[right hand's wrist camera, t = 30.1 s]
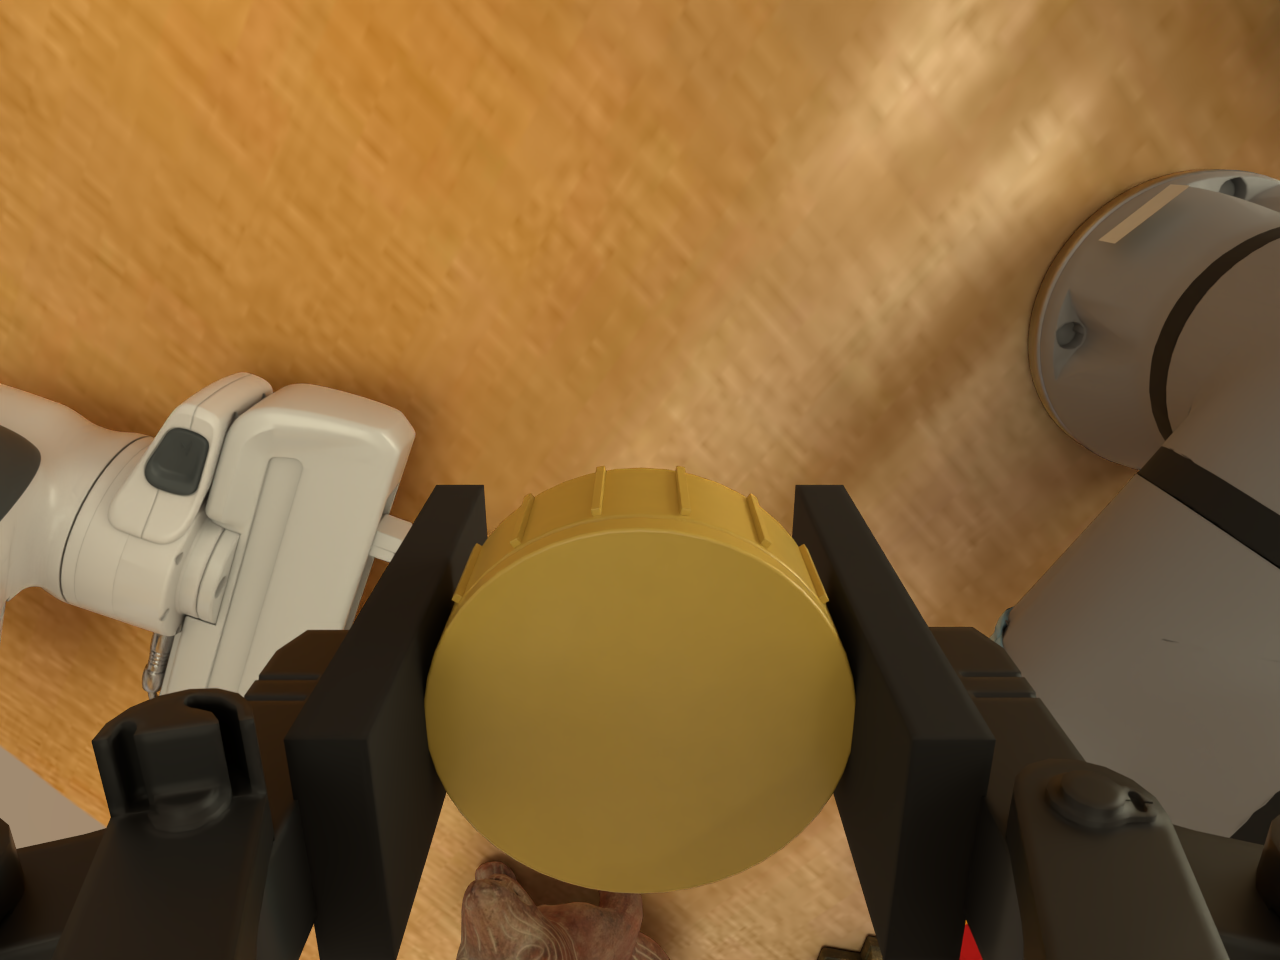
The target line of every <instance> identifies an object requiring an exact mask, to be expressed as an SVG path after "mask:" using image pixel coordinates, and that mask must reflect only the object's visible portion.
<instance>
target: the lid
mask: <svg viewBox="0 0 1280 960" xmlns="http://www.w3.org/2000/svg"><path fill="white" fill-rule="evenodd" d="M452 600H453V601H454V602H455V603H454V606H453V608H452V611H451V613H450V615H449V618H448V620H447V623H446V625H445V628H444V630H443V633H442V635H441V638H440V640H439V643H438V645H437V647H436V650H435V652H434V656H433V659H432V662H431V666H430V669H429V672H428V675H427V682H426V689H425V696H424V708H425V719H426V730H427V739H428V747H429V751H430V754H431V757H432V760H433V763H434V766H435V769H436V772H437V774H438V776H439V778H440V780H441V782H442V784H443V786H444V788H445V790H446V792H447V794H448V795H449V797H450V798H451V800H452V801H453V802H454V804H455V805H456V807H457V808H458V810H459V811H460V813H461V814H462V815H463V816H464V817H465V818H466V819H467V820H468V821H469V823H470V824H471V825H472V826H473V827H474V828H475V829H476V830H477V831H478V832H479V833H480V834H481V835H482V836H484V837H485V838H486V839H487V840H488V841H489V842H491V843H492V844H493V845H494V846H495V847H497V848H498V849H500V850H501V851H503V852H504V853H506V854H507V855H509V856H510V857H512V858H513V859H515V860H516V861H518V862H520V863H522V864H524V865H526V866H527V867H529V868H531V869H533V870H535V871H537V872H539V873H542V874H544V875H547V876H550V877H552V878H555V879H557V880H560V881H563V882H566V883H570V884H574V885H578V886H581V887H585V888H589V889H596V890H602V891H609V892H618V893H636V894H643V893H663V892H671V891H678V890H685V889H691V888H695V887H699V886H703V885H707V884H710V883H714V882H717V881H720V880H723V879H725V878H728V877H731V876H733V875H736V874H739V873H741V872H743V871H745V870H747V869H749V868H751V867H753V866H755V865H757V864H759V863H761V862H763V861H764V860H766V859H767V858H769V857H770V856H772V855H773V854H775V853H776V852H778V851H779V850H781V849H782V848H784V847H785V846H786V845H787V844H788V843H790V842H791V841H792V840H793V839H794V838H795V837H797V836H798V835H799V834H800V833H801V832H802V831H803V830H804V829H805V828H806V827H807V826H808V825H809V824H810V823H811V822H812V821H813V820H814V818H815V817H816V816H817V815H818V814H819V813H820V811H821V810H822V808H823V807H824V806H825V804H826V803H827V801H828V800H829V798H830V797H831V796H832V794H833V792H834V790H835V788H836V786H837V784H838V782H839V781H840V779H841V777H842V775H843V773H844V770H845V767H846V764H847V761H848V758H849V755H850V752H851V744H852V735H853V725H854V714H855V702H856V695H855V687H854V679H853V675H852V671H851V668H850V665H849V661H848V658H847V654H846V652H845V649H844V647H843V644H842V642H841V640H840V638H839V635H838V632H837V630H836V627H835V625H834V622H833V620H832V617H831V615H830V613H829V610H828V608H827V605H826V602H828V601H829V599H828V597H827V594H826V592H825V589H824V587H823V585H822V582H821V580H820V577H819V575H818V573H817V570H816V568H815V565H814V563H813V561H812V558H811V556H810V553H809V551H808V549H807V547H806V546H805V544H803V545H801V546H799V547H798V545H797V544H796V542H795V541H794V539H793V538H792V537H791V536H790V535H789V534H788V532H787V531H786V530H785V529H784V528H783V527H782V526H781V525H780V523H779V522H778V521H776V520H775V519H774V518H773V517H772V516H771V515H769V514H768V513H767V512H766V511H765V510H764V509H762V508H761V507H760V506H759V503H758V500H757V497H755V496H754V495H752V494H749V496H748V497H747V498H746V497H745V496H743V495H742V494H740V493H738V492H736V491H734V490H732V489H730V488H728V487H725V486H723V485H721V484H719V483H717V482H714V481H711V480H708V479H705V478H702V477H699V476H696V475H693V474H688V473H685V468H684V467H680V466H677V467H676V471H672V470H667V469H652V468H629V469H614V470H608V471H606V469H605V466H601V467H597V468H596V473H592V474H588V475H585V476H581V477H578V478H575V479H572V480H569V481H566V482H563V483H561V484H559V485H557V486H555V487H553V488H550V489H548V490H546V491H544V492H542V493H540V494H539V495H537V496H536V497H534V496H533V495H532V494H531V493H530V494H528V495H527V496H525V497H524V500H523V503H522V505H521V506H520V507H519V508H518V509H517V510H515V511H514V512H513V513H512V514H511V515H510V516H508V517H507V518H506V519H505V520H504V521H503V522H502V523H501V524H500V525H499V526H498V527H497V528H496V529H495V530H494V532H493V533H492V534H491V535H490V536H489V537H488V538H487V540H486V541H485V543H484V544H483V546H481V545H479V544H478V543H476V545H475V546H474V548H473V549H472V552H471V554H470V557H469V559H468V561H467V564H466V566H465V569H464V571H463V574H462V576H461V578H460V581H459V583H458V586H457V588H456V590H455V593H454V595H453V598H452Z"/></svg>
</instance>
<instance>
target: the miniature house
mask: <svg viewBox="0 0 1280 960" xmlns="http://www.w3.org/2000/svg"><path fill="white" fill-rule="evenodd" d="M818 960H883V957H882V954H881V951H880V947H879V944H878V941H877V937H872V936H868V937H867V939H866V941H865V944H864V946H863V948H862V950H861V953H855V952H849V951H844V950H838V949H832V948H826V947H824V948H822V950H821V952H820V955H819V957H818Z"/></svg>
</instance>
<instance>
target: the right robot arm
mask: <svg viewBox="0 0 1280 960" xmlns="http://www.w3.org/2000/svg"><path fill="white" fill-rule="evenodd" d="M1028 355H1029V363H1030V370H1031V374H1032V379H1033V382H1034V385H1035V388H1036V391H1037V394H1038V396H1039V398H1040V400H1041V402H1042V404H1043V406H1044V407H1045V409H1046V410H1047V412H1048V414H1049V415H1050V416H1051V418H1052V419H1053V420H1054V421H1055V423H1056V424H1057V425H1058V426H1059V427H1060V428H1061V429H1062V430H1063V431H1064V432H1065V433H1066V434H1067V435H1069V436H1070V437H1071V438H1073V439H1074V440H1075V441H1076V442H1078V443H1079V444H1081V445H1082V446H1084V447H1085V448H1087V449H1088V450H1090V451H1092V452H1093V453H1095V454H1097V455H1098V456H1101V457H1103V458H1105V459H1107V460H1109V461H1112V462H1115V463H1118V464H1121V465H1124V466H1127V467H1130V468H1134V469H1137V470H1140V471H1139V472H1137V474H1135V475H1134V476H1133V477H1132V478H1131V480H1130V481H1129V482H1128V483H1127V484H1126V485H1125V486H1124V487H1123V489H1122V490H1121V491H1120V492H1119V493H1118V494H1117V495H1116V496H1115V498H1114V499H1113V500H1112V501H1111V502H1110V503H1109V504H1108V505H1107V506H1106V507H1105V509H1104V510H1103V511H1102V512H1101V513H1100V514H1099V515H1098V516H1097V517H1096V518H1095V519H1094V521H1093V522H1092V523H1091V524H1090V525H1089V526H1088V527H1087V528H1086V529H1085V530H1084V531H1083V533H1082V534H1081V535H1080V536H1079V537H1078V538H1077V539H1076V540H1075V541H1074V542H1073V543H1072V544H1071V546H1070V547H1069V548H1068V549H1067V550H1066V551H1065V552H1064V553H1063V554H1062V555H1061V556H1060V558H1059V559H1058V560H1057V561H1056V562H1055V563H1054V564H1053V565H1052V566H1051V567H1050V568H1049V570H1048V571H1047V572H1046V573H1045V574H1044V575H1043V576H1042V577H1041V578H1040V579H1039V580H1038V582H1037V583H1036V584H1035V585H1034V586H1033V587H1032V588H1031V589H1030V590H1029V591H1028V592H1027V594H1026V595H1025V596H1024V597H1023V598H1022V599H1021V600H1020V601H1019V602H1018V603H1017V604H1016V605H1015V606H1014V607H1011V608H1009V609H1007V610H1006V611H1005V612H1004V613H1003V614H1002V615H1001V617H1000V618H999V620H998V622H997V624H996V627H995V632H994V633H993V634H992V636H991V637H990V638H988V637H987V636H985V635H984V634H982V633H981V632H979V631H978V630H976V629H975V628H973V627H928V626H927V624H926V622H925V621H924V619H923V617H922V616H921V614H920V612H919V611H918V609H917V607H916V606H915V604H914V602H913V601H912V599H911V597H910V596H909V594H908V592H907V591H906V589H905V587H904V586H903V584H902V582H901V581H900V579H899V577H898V576H897V574H896V572H895V571H894V569H893V567H892V566H891V564H890V562H889V561H888V559H887V557H886V556H885V554H884V552H883V551H882V549H881V547H880V546H879V544H878V542H877V541H876V539H875V537H874V536H873V534H872V532H871V531H870V529H869V527H868V526H867V524H866V522H865V521H864V519H863V517H862V516H861V514H860V512H859V511H858V509H857V507H856V506H855V504H854V502H853V501H852V499H851V498H850V496H849V494H848V493H847V491H846V489H845V488H844V486H843V485H796V487H795V502H794V518H793V533H792V538H793V539H794V541H795V542H796V544H797V545H798V547H799V546H801V545H803V544H805V546H806V547H807V549H808V551H809V553H810V556H811V558H812V561H813V563H814V565H815V568H816V570H817V573H818V575H819V577H820V580H821V582H822V585H823V587H824V589H825V592H826V594H827V597H828V599H829V601H828V602H826V605H827V608H828V610H829V613H830V615H831V617H832V620H833V622H834V625H835V627H836V630H837V632H838V635H839V638H840V640H841V642H842V644H843V647H844V649H845V652H846V654H847V658H848V661H849V665H850V668H851V671H852V675H853V679H854V687H855V695H856V702H855V714H854V725H853V735H852V744H851V752H850V755H849V758H848V761H847V764H846V767H845V770H844V773H843V775H842V777H841V779H840V781H839V782H838V784H837V786H836V788H835V790H834V792H833V794H834V797H835V800H836V804H837V807H838V810H839V814H840V817H841V820H842V824H843V827H844V830H845V834H846V837H847V840H848V844H849V847H850V850H851V854H852V857H853V860H854V864H855V867H856V870H857V874H858V877H859V880H860V884H861V887H862V890H863V894H864V897H865V900H866V904H867V907H868V910H869V914H870V917H871V920H872V924H873V927H874V931H875V934H876V937H877V941H878V944H879V947H880V951H881V954H882V957H883V960H959V959H960V953H961V947H962V941H963V935H964V929H965V923H966V921H967V923H968V926H969V928H970V930H971V933H972V935H973V938H974V940H975V942H976V945H977V947H978V949H979V952H980V954H981V957H982V959H983V960H1280V181H1279V180H1277V179H1274V178H1271V177H1268V176H1265V175H1261V174H1257V173H1253V172H1246V171H1239V170H1218V169H1200V170H1188V171H1183V172H1177V173H1172V174H1169V175H1165V176H1161V177H1158V178H1155V179H1153V180H1150V181H1147V182H1145V183H1142V184H1140V185H1138V186H1136V187H1134V188H1132V189H1130V190H1128V191H1126V192H1124V193H1123V194H1121V195H1119V196H1118V197H1116V198H1114V199H1113V200H1111V201H1110V202H1109V203H1107V204H1106V205H1104V206H1103V207H1102V208H1100V209H1099V210H1098V211H1097V212H1096V213H1094V214H1093V215H1092V216H1091V217H1090V218H1088V219H1087V220H1086V221H1085V222H1084V223H1083V224H1082V225H1081V226H1080V227H1079V228H1078V229H1077V230H1076V232H1075V233H1074V234H1073V235H1072V236H1071V237H1070V239H1069V240H1068V241H1067V242H1066V243H1065V245H1064V246H1063V248H1062V249H1061V250H1060V252H1059V253H1058V254H1057V256H1056V258H1055V259H1054V261H1053V263H1052V264H1051V266H1050V268H1049V269H1048V271H1047V273H1046V275H1045V277H1044V280H1043V282H1042V284H1041V286H1040V289H1039V292H1038V294H1037V297H1036V300H1035V303H1034V307H1033V311H1032V315H1031V321H1030V326H1029V337H1028ZM486 540H487V526H486V511H485V496H484V485H436V487H435V488H434V490H433V492H432V493H431V495H430V497H429V498H428V500H427V502H426V503H425V505H424V507H423V508H422V510H421V512H420V513H419V515H418V516H417V518H416V520H415V521H414V523H413V525H412V526H411V528H410V530H409V531H408V533H407V535H406V536H405V538H404V540H403V541H402V543H401V545H400V546H399V548H398V550H397V551H396V553H395V555H394V556H393V558H392V560H391V561H390V563H389V565H388V566H387V568H386V570H385V571H384V573H383V575H382V576H381V578H380V580H379V581H378V583H377V585H376V586H375V588H374V590H373V591H372V593H371V595H370V596H369V598H368V600H367V601H366V603H365V605H364V606H363V608H362V610H361V611H360V613H359V615H358V616H357V618H356V620H355V621H354V623H353V625H352V626H351V628H350V630H306V631H305V632H303V633H302V634H301V635H299V636H298V637H296V638H295V639H293V640H292V641H290V642H289V643H287V644H286V645H284V646H283V647H281V648H280V649H278V650H277V651H276V652H275V653H274V655H273V656H272V658H271V659H270V660H269V662H268V663H267V664H266V666H265V667H264V669H263V670H262V671H261V673H260V674H259V679H258V680H255V681H254V683H253V684H252V685H251V687H250V688H249V689H248V691H247V692H246V694H245V695H244V697H243V696H241V695H240V694H239V693H236V692H231V691H227V690H223V689H219V688H204V689H187V690H182V691H178V692H173V693H169V694H164V695H160V696H157V697H155V698H152V699H150V700H147V701H145V702H143V703H140V704H138V705H135V706H133V707H130V708H129V709H127V710H126V711H124V712H123V713H121V714H120V715H118V716H117V717H115V718H114V719H112V720H111V721H109V722H108V723H106V724H105V726H104V727H103V728H102V729H101V730H100V732H99V733H98V734H97V735H96V736H95V738H94V739H93V740H92V745H93V749H94V753H95V757H96V761H97V765H98V768H99V772H100V776H101V780H102V784H103V788H104V792H105V796H106V800H107V804H108V808H109V812H110V815H111V819H110V821H109V823H108V826H107V828H105V829H102V830H98V831H95V832H91V833H88V834H84V835H79V836H75V837H70V838H66V839H61V840H56V841H52V842H47V843H42V844H38V845H33V846H29V847H24V848H19V849H16V847H15V844H14V840H13V837H12V834H11V830H10V827H9V825H8V824H7V823H6V822H4V821H3V820H2V819H1V818H0V960H299V957H300V955H301V953H302V950H303V948H304V945H305V943H306V941H307V938H308V936H309V934H310V931H311V929H312V926H313V924H314V927H315V933H316V939H317V945H318V951H319V957H320V960H396V959H397V955H398V952H399V949H400V945H401V942H402V939H403V935H404V932H405V929H406V925H407V922H408V919H409V915H410V912H411V909H412V905H413V902H414V899H415V895H416V892H417V889H418V885H419V882H420V879H421V875H422V872H423V869H424V865H425V862H426V858H427V855H428V852H429V848H430V845H431V842H432V838H433V835H434V832H435V828H436V825H437V822H438V818H439V815H440V812H441V808H442V805H443V802H444V798H445V795H446V790H445V788H444V786H443V784H442V782H441V780H440V778H439V776H438V774H437V772H436V769H435V766H434V763H433V760H432V757H431V754H430V751H429V747H428V739H427V730H426V719H425V708H424V696H425V689H426V682H427V675H428V672H429V669H430V666H431V662H432V659H433V656H434V652H435V650H436V647H437V645H438V643H439V640H440V638H441V635H442V633H443V630H444V628H445V625H446V623H447V620H448V618H449V615H450V613H451V611H452V608H453V606H454V603H455V602H454V601H453V600H452V598H453V595H454V593H455V590H456V588H457V586H458V583H459V581H460V578H461V576H462V574H463V571H464V569H465V566H466V564H467V561H468V559H469V557H470V554H471V552H472V549H473V548H474V546H475V545H476V543H478V544H479V545H481V546H483V544H484V543H485V541H486Z"/></svg>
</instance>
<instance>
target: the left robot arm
mask: <svg viewBox="0 0 1280 960" xmlns="http://www.w3.org/2000/svg"><path fill="white" fill-rule="evenodd" d="M414 439H415V430H414V429H413V427H412V425H411V424H410V423H409V421H408V420H407V418H406V417H405V416H404V414H403V413H402V412H401V411H399V410H397V409H395V408H393V407H391V406H388V405H386V404H383V403H380V402H377V401H374V400H371V399H368V398H365V397H362V396H358V395H355V394H351V393H348V392H344V391H340V390H336V389H332V388H327V387H323V386H319V385H313V384H291V385H287V386H285V387H283V388H281V389H279V390H277V391H276V392H274V393H273V389H272V387H271V385H270V384H269V383H268V382H267V381H266V380H264V379H262V378H260V377H258V376H256V375H253V374H251V373H247V372H239V373H235V374H232V375H229V376H226V377H224V378H222V379H220V380H218V381H216V382H214V383H212V384H210V385H208V386H206V387H205V388H203V389H201V390H200V391H198V392H197V393H195V394H194V395H192V396H191V397H189V398H188V399H187V400H185V401H184V402H183V403H181V404H180V405H179V406H177V407H176V408H175V409H174V410H173V412H172V413H171V414H170V416H169V417H168V418H167V420H166V421H165V423H164V425H163V426H162V428H161V429H160V431H159V432H158V434H157V435H156V437H152V436H148V435H145V434H141V433H133V432H120V431H114V430H109V429H106V428H103V427H101V426H98V425H96V424H94V423H92V422H90V421H89V420H87V419H86V418H84V417H83V416H82V415H80V414H79V413H78V412H76V411H74V410H73V409H71V408H69V407H67V406H65V405H63V404H60V403H57V402H55V401H52V400H49V399H46V398H43V397H41V396H38V395H35V394H32V393H29V392H26V391H23V390H20V389H17V388H14V387H11V386H7V385H4V384H1V383H0V642H1V634H2V627H3V619H4V611H5V604H6V603H5V602H6V601H10V600H11V599H12V598H13V597H14V596H15V595H17V594H18V593H19V592H20V591H21V590H23V589H25V588H28V587H34V586H37V587H41V588H42V589H44V590H45V591H47V592H48V593H49V594H51V595H52V596H54V597H55V598H57V599H59V600H61V601H63V602H65V603H68V604H71V605H74V606H77V607H80V608H83V609H86V610H89V611H92V612H95V613H98V614H101V615H104V616H107V617H110V618H113V619H116V620H119V621H121V622H124V623H127V624H130V625H133V626H136V627H139V628H142V629H145V630H148V631H151V632H153V635H152V639H151V645H150V656H149V660H148V664H147V665H146V666H145V669H144V672H143V676H142V688H143V689H144V690H145V691H147V692H148V696H149V699H152V698H155V697H157V696H158V695H157V692H158V691H160V690H161V691H160V695H164V694H169V693H173V692H178V691H182V690H187V689H204V688H219V689H223V690H227V691H231V692H236V693H239V694H240V695H241V696H243V697H244V695H245V694H246V692H247V691H248V689H249V688H250V687H251V685H252V684H253V683H254V681H255V680H258V679H259V674H260V673H261V671H262V670H263V669H264V667H265V666H266V664H267V663H268V662H269V660H270V659H271V658H272V656H273V655H274V653H275V652H276V651H277V650H278V649H280V648H281V647H283V646H284V645H286V644H287V643H289V642H290V641H292V640H293V639H295V638H296V637H298V636H299V635H301V634H302V633H303V632H305V631H306V630H350V628H351V626H352V625H353V622H354V619H355V616H356V613H357V610H358V607H359V604H360V601H361V598H362V595H363V592H364V589H365V586H366V583H367V580H368V577H369V574H370V571H371V568H372V565H373V562H374V559H375V558H378V559H381V560H384V561H387V562H390V561H391V560H392V558H393V556H394V555H395V553H396V551H397V550H398V548H399V546H400V545H401V543H402V541H403V540H404V538H405V536H406V535H407V533H408V531H409V530H410V528H411V526H412V523H411V522H408V521H405V520H402V519H399V518H397V517H394V516H391V515H389V514H390V511H391V508H392V505H393V502H394V499H395V496H396V493H397V490H398V487H399V484H400V481H401V478H402V475H403V472H404V469H405V466H406V463H407V460H408V457H409V454H410V451H411V448H412V445H413V442H414ZM160 695H159V696H160Z"/></svg>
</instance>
